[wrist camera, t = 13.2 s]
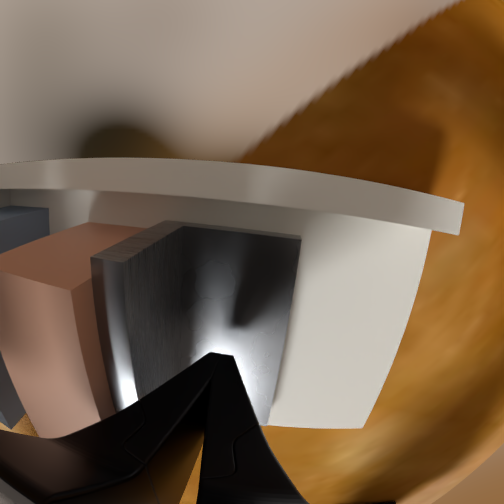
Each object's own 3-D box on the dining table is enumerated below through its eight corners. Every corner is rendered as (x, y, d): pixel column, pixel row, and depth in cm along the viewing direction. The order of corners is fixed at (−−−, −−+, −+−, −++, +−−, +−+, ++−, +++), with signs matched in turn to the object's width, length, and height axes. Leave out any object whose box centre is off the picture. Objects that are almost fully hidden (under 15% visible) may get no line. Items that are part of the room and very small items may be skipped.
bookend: (267, 416, 11) (261, 499, 7) (169, 400, 12) (135, 474, 7) (300, 235, 9) (318, 288, 5) (165, 220, 9) (90, 257, 5)
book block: (171, 386, 12) (126, 482, 7) (104, 368, 12) (44, 444, 7) (168, 230, 10) (70, 290, 5) (87, 222, 10) (-22, 263, 5)
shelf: (358, 414, 13) (383, 519, 6) (35, 349, 14) (-28, 407, 7) (424, 194, 10) (550, 227, 3) (13, 163, 11) (-86, 177, 4)
